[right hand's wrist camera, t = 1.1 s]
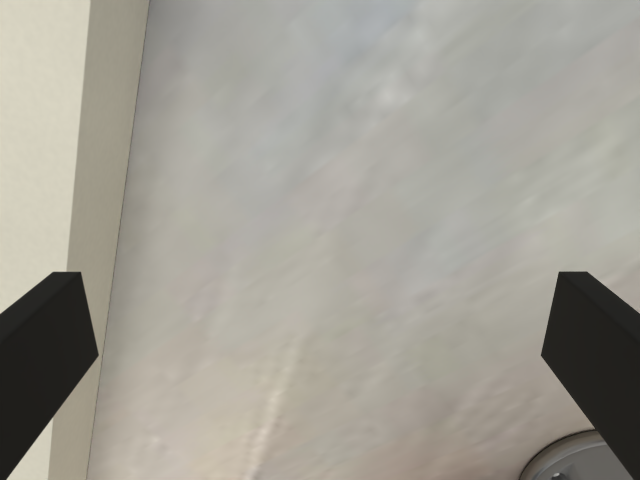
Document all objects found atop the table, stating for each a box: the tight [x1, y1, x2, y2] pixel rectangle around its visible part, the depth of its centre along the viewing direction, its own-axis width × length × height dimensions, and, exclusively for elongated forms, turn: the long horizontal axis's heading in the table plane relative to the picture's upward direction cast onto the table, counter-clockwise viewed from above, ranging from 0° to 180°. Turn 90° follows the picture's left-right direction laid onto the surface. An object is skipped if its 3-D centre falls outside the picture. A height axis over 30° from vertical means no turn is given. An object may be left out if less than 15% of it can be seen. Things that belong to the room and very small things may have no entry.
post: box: [0, 0, 150, 480], centre depth 35 cm, size 76×5×8 cm, turn 164°
